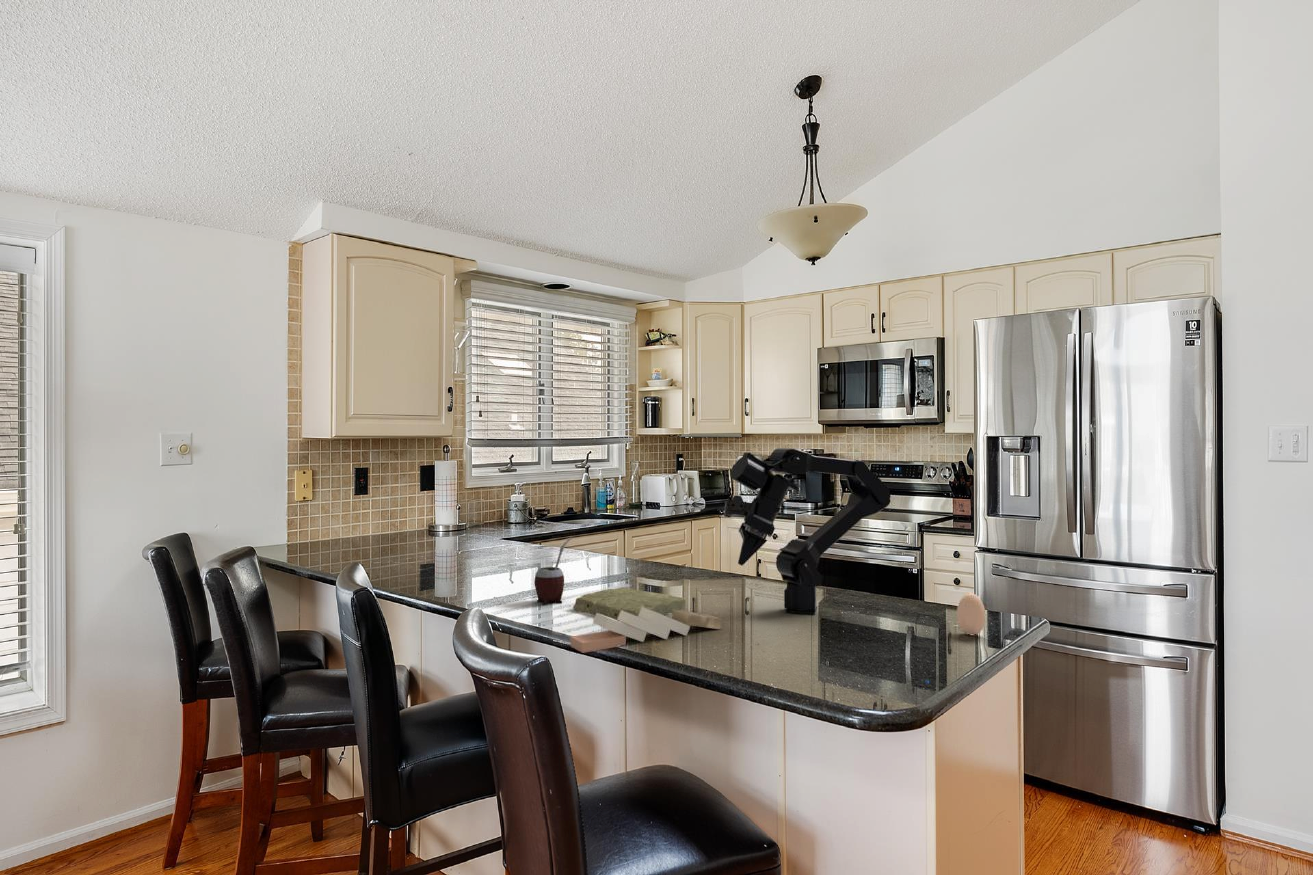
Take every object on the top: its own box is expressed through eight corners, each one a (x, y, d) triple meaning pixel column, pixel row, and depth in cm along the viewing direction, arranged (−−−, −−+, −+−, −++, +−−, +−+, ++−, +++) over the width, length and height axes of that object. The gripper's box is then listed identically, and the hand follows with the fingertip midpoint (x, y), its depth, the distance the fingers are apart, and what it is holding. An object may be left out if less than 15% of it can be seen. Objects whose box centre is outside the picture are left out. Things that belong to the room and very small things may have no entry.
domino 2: (634, 626, 142) (596, 612, 138) (647, 631, 138) (608, 617, 133) (630, 636, 141) (592, 622, 137) (643, 642, 137) (604, 628, 133)
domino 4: (675, 620, 146) (641, 606, 142) (690, 626, 142) (655, 611, 138) (672, 630, 146) (637, 616, 142) (686, 635, 142) (651, 621, 137)
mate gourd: (529, 604, 169) (529, 540, 169) (543, 597, 177) (543, 536, 177) (559, 606, 167) (559, 541, 167) (571, 599, 175) (571, 537, 175)
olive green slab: (620, 598, 178) (620, 584, 178) (687, 610, 165) (687, 594, 165) (566, 613, 163) (566, 597, 163) (635, 627, 151) (635, 610, 151)
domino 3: (656, 623, 144) (621, 609, 140) (670, 629, 140) (634, 615, 135) (652, 633, 143) (617, 619, 139) (666, 639, 139) (630, 625, 135)
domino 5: (708, 614, 151) (674, 609, 147) (723, 619, 147) (688, 614, 142) (706, 624, 151) (672, 619, 146) (721, 629, 147) (686, 624, 142)
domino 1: (612, 629, 140) (570, 636, 135) (625, 635, 135) (582, 642, 131) (612, 640, 140) (570, 647, 135) (625, 646, 135) (582, 653, 131)
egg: (983, 640, 138) (983, 597, 138) (954, 636, 141) (954, 594, 141) (987, 633, 143) (987, 592, 143) (959, 630, 146) (959, 589, 146)
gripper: (732, 490, 170) (705, 551, 167) (738, 477, 151) (707, 545, 149) (776, 511, 168) (749, 572, 165) (787, 500, 150) (757, 569, 147)
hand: (740, 564), depth 157 cm, fingers closed
